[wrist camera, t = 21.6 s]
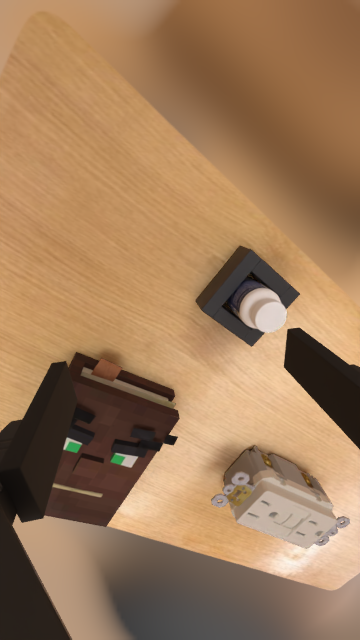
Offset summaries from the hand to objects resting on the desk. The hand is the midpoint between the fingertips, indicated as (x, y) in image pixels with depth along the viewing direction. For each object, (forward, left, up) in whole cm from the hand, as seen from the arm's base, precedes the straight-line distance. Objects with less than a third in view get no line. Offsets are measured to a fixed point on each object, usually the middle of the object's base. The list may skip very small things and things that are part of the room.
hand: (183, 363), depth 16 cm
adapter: (+4, +12, -23) cm, 27 cm away
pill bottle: (+4, +12, -24) cm, 27 cm away
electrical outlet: (+44, +19, -24) cm, 54 cm away
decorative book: (+26, -13, -24) cm, 37 cm away
